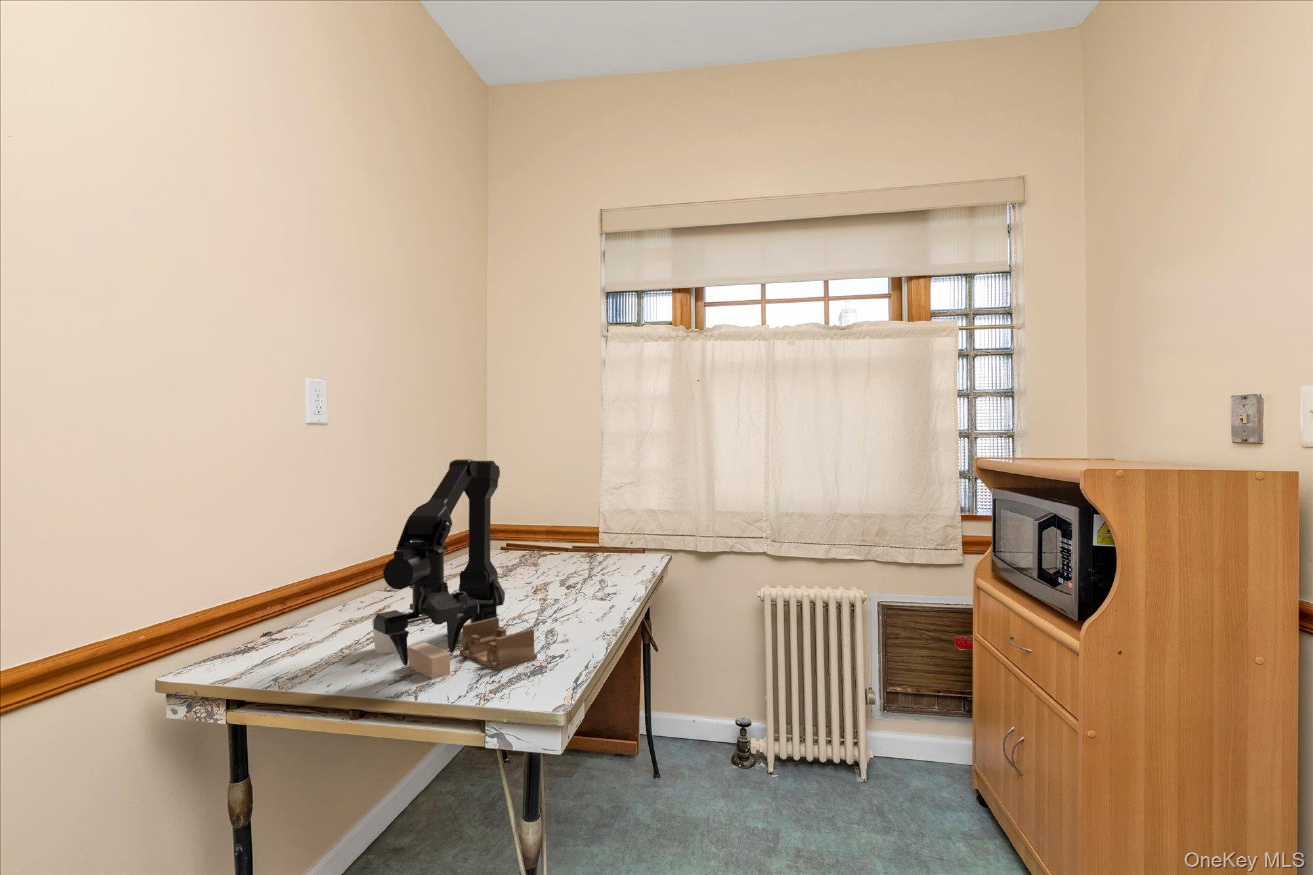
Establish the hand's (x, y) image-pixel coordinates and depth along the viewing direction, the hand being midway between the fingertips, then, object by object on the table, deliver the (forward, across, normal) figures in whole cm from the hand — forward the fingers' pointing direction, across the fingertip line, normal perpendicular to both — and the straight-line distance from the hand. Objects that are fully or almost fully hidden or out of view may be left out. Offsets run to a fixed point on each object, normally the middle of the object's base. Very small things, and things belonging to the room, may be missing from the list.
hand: (429, 658), depth 116 cm
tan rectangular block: (+2, 0, 0) cm, 2 cm away
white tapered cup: (+2, 0, +18) cm, 18 cm away
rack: (+2, +13, -4) cm, 14 cm away
